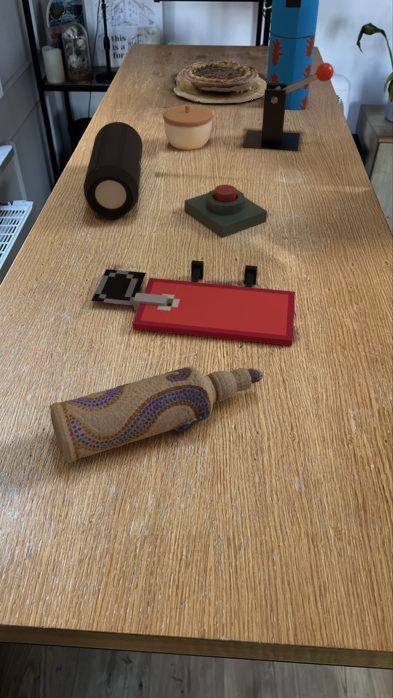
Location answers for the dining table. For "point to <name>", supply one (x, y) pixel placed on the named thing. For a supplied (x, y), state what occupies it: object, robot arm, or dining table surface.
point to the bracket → (273, 123)
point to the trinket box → (187, 126)
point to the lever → (313, 77)
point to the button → (225, 193)
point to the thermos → (292, 48)
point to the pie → (219, 82)
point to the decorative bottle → (142, 409)
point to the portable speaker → (114, 171)
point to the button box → (225, 213)
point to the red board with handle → (203, 306)
